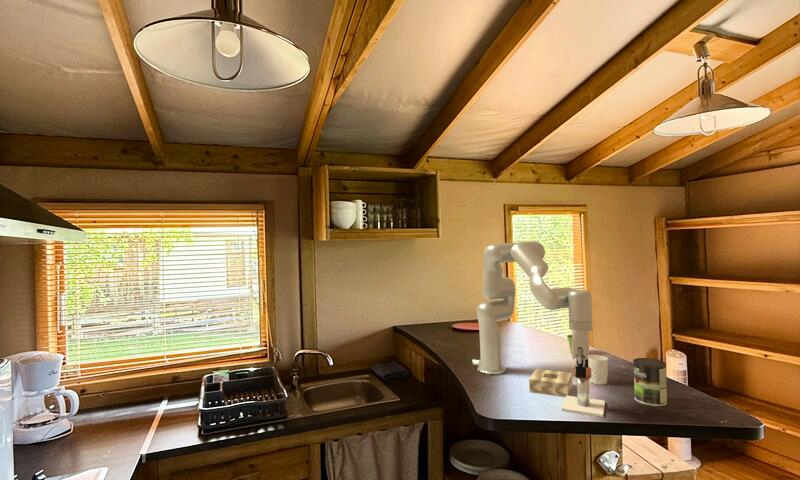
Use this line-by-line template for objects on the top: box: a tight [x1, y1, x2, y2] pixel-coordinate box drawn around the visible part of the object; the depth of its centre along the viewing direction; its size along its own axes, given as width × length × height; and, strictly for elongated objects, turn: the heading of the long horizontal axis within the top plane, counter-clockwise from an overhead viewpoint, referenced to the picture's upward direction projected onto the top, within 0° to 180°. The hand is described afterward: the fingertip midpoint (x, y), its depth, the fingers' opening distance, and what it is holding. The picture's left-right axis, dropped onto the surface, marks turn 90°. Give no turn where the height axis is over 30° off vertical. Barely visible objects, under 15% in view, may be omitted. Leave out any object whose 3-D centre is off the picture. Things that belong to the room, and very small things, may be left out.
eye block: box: [528, 368, 573, 398], centre depth 166 cm, size 14×14×5 cm
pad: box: [560, 395, 606, 418], centre depth 147 cm, size 13×13×1 cm
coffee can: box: [632, 357, 668, 407], centre depth 150 cm, size 10×10×14 cm
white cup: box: [588, 354, 609, 386], centre depth 171 cm, size 8×8×10 cm
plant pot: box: [566, 334, 572, 355], centre depth 213 cm, size 9×9×9 cm
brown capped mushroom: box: [573, 365, 591, 407], centre depth 147 cm, size 6×6×13 cm
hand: (582, 373), depth 147 cm, fingers open, 9 cm apart
